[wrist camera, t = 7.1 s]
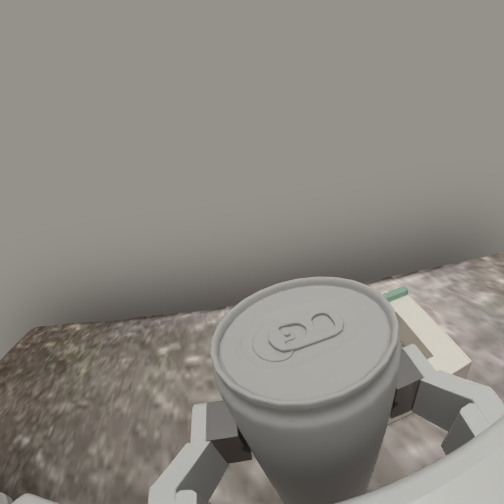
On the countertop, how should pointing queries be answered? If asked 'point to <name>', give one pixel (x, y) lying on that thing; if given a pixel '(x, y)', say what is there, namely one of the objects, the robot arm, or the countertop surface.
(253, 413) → the beverage can
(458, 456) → the robot arm
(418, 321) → the socket block
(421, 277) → the countertop surface
